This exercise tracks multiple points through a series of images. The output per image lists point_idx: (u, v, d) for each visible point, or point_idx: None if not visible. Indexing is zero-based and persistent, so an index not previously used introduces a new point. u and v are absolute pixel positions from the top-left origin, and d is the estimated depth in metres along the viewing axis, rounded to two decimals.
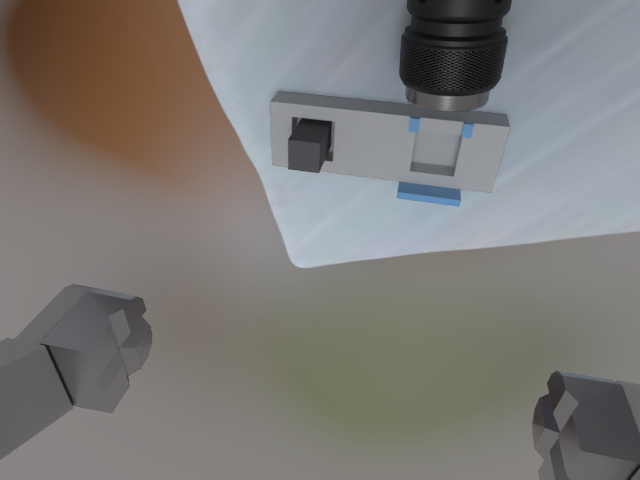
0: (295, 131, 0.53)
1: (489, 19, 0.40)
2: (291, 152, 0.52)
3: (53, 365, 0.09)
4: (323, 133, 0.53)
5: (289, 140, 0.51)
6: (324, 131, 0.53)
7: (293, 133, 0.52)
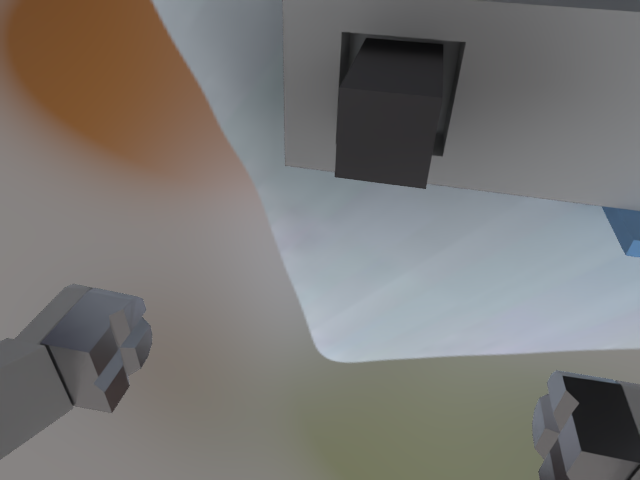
0: (356, 68, 0.18)
1: None
2: (347, 128, 0.17)
3: (53, 365, 0.09)
4: (438, 73, 0.18)
5: (344, 89, 0.16)
6: (438, 69, 0.18)
7: (352, 72, 0.18)
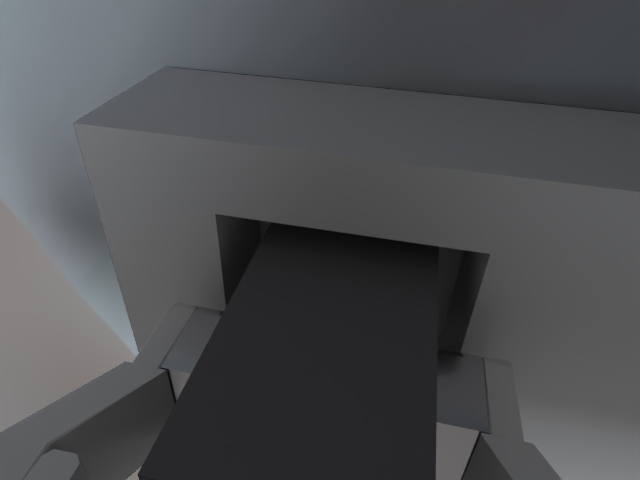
0: (226, 337, 0.07)
1: None
2: None
3: (171, 389, 0.08)
4: (427, 357, 0.07)
5: (152, 478, 0.06)
6: (427, 330, 0.08)
7: (208, 363, 0.07)
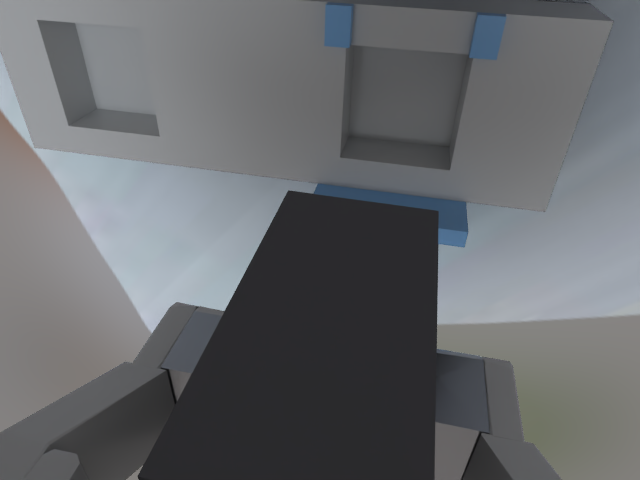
0: (226, 339, 0.07)
1: None
2: None
3: (171, 389, 0.08)
4: (426, 359, 0.07)
5: None
6: (426, 332, 0.08)
7: (208, 365, 0.07)
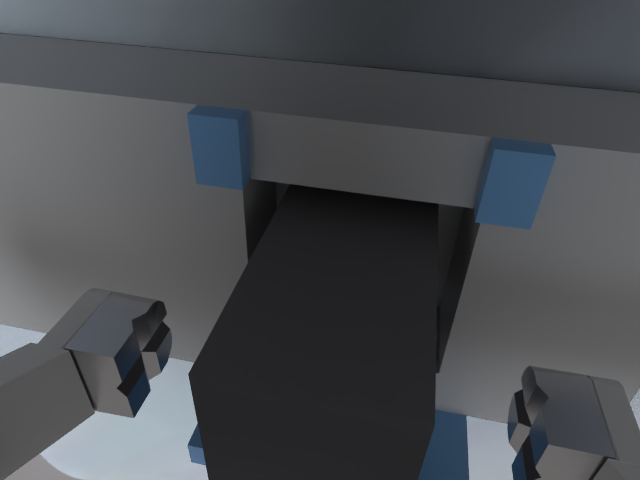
0: (255, 276, 0.09)
1: None
2: (222, 436, 0.08)
3: (76, 370, 0.09)
4: (428, 293, 0.08)
5: (200, 378, 0.07)
6: (428, 272, 0.09)
7: (240, 295, 0.08)
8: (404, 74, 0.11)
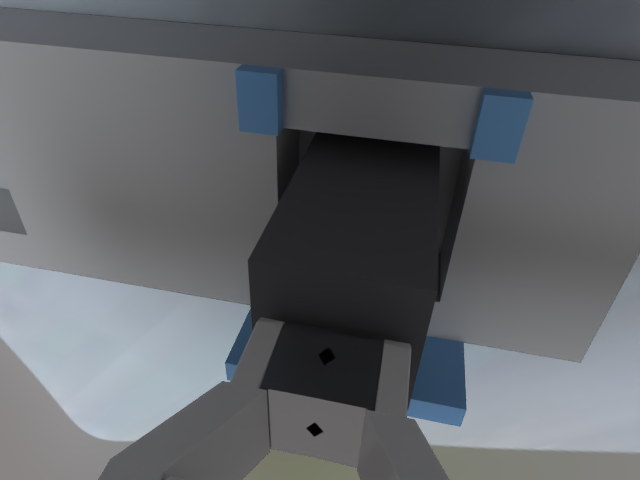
0: (291, 199, 0.11)
1: None
2: (269, 318, 0.10)
3: (268, 409, 0.08)
4: (431, 212, 0.10)
5: (256, 263, 0.09)
6: (431, 199, 0.11)
7: (281, 212, 0.10)
8: (410, 44, 0.13)
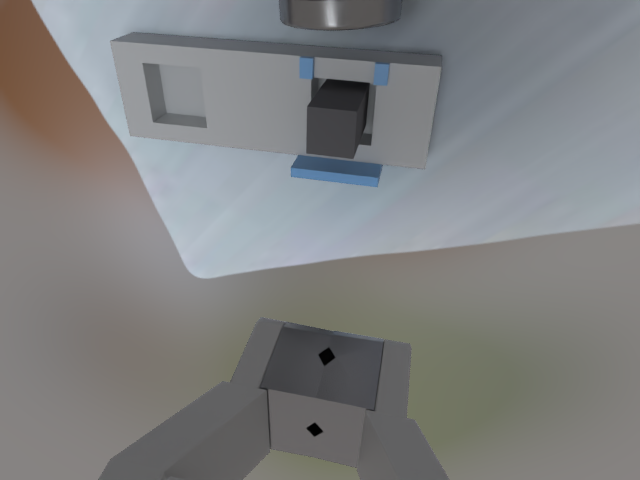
0: (317, 96, 0.35)
1: None
2: (311, 126, 0.34)
3: (268, 409, 0.08)
4: (360, 99, 0.35)
5: (309, 107, 0.33)
6: (361, 97, 0.35)
7: (314, 99, 0.34)
8: (358, 50, 0.38)
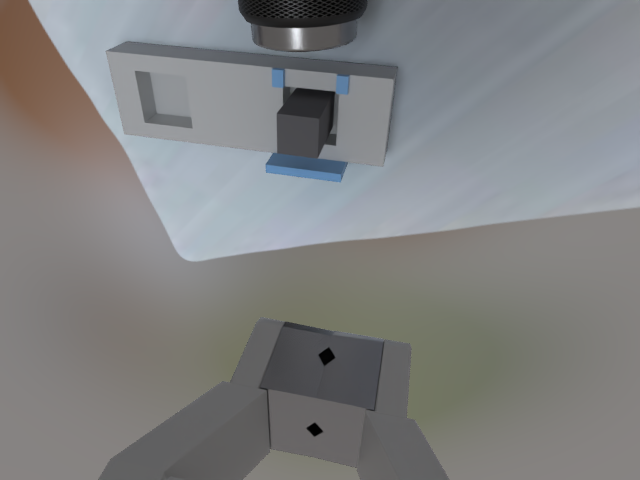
0: (287, 103, 0.40)
1: None
2: (281, 131, 0.39)
3: (268, 409, 0.08)
4: (323, 106, 0.40)
5: (278, 114, 0.38)
6: (325, 104, 0.40)
7: (284, 106, 0.40)
8: (324, 61, 0.43)
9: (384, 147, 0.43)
